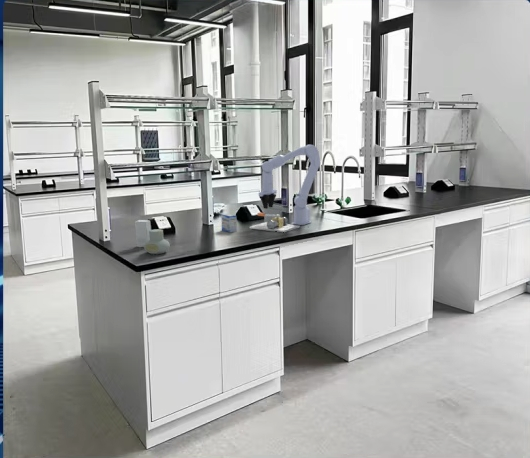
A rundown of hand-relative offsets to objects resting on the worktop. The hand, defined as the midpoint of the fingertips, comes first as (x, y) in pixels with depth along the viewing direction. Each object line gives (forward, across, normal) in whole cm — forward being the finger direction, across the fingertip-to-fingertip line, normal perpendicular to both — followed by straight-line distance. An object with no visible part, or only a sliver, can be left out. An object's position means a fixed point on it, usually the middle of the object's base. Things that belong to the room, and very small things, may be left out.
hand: (268, 207), depth 269 cm
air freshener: (+10, +78, -4) cm, 79 cm away
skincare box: (+10, +73, -19) cm, 76 cm away
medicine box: (+10, +25, -8) cm, 28 cm away
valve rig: (+9, +7, +9) cm, 14 cm away
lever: (+4, +6, +5) cm, 8 cm away
